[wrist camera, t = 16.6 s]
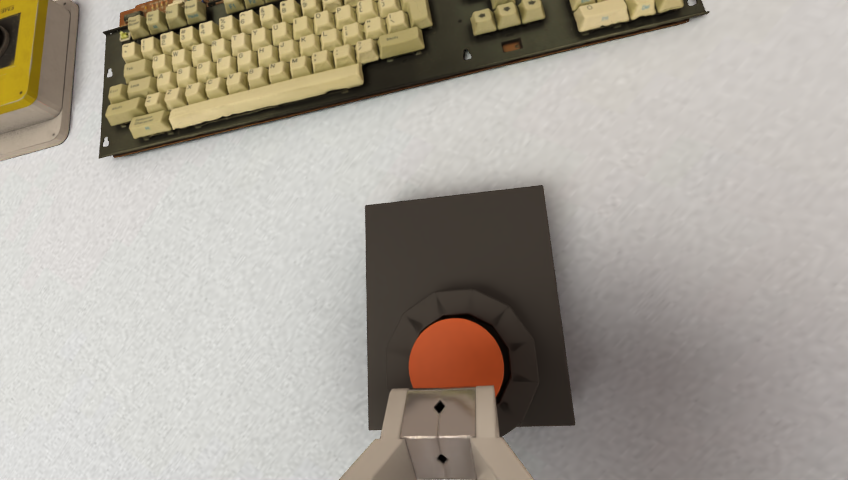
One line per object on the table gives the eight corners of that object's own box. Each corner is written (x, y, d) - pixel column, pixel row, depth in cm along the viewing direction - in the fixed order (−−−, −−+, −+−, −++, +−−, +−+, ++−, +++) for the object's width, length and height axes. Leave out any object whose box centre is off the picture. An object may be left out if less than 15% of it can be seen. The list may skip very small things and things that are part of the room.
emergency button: (28, -42, 35) (8, 114, 31) (79, 0, 39) (67, 142, 35) (-63, -10, 36) (-94, 144, 32) (-4, 27, 40) (-25, 167, 36)
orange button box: (564, 421, 23) (585, 445, 17) (389, 425, 25) (354, 449, 19) (537, 208, 26) (546, 169, 20) (383, 224, 28) (352, 192, 22)
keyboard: (109, 165, 33) (78, 151, 31) (120, 17, 37) (93, -5, 35) (709, 23, 27) (729, -8, 25) (645, -136, 31) (657, -176, 29)
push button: (508, 409, 18) (508, 416, 17) (419, 412, 19) (410, 419, 17) (499, 318, 20) (498, 314, 18) (415, 323, 20) (406, 320, 18)
